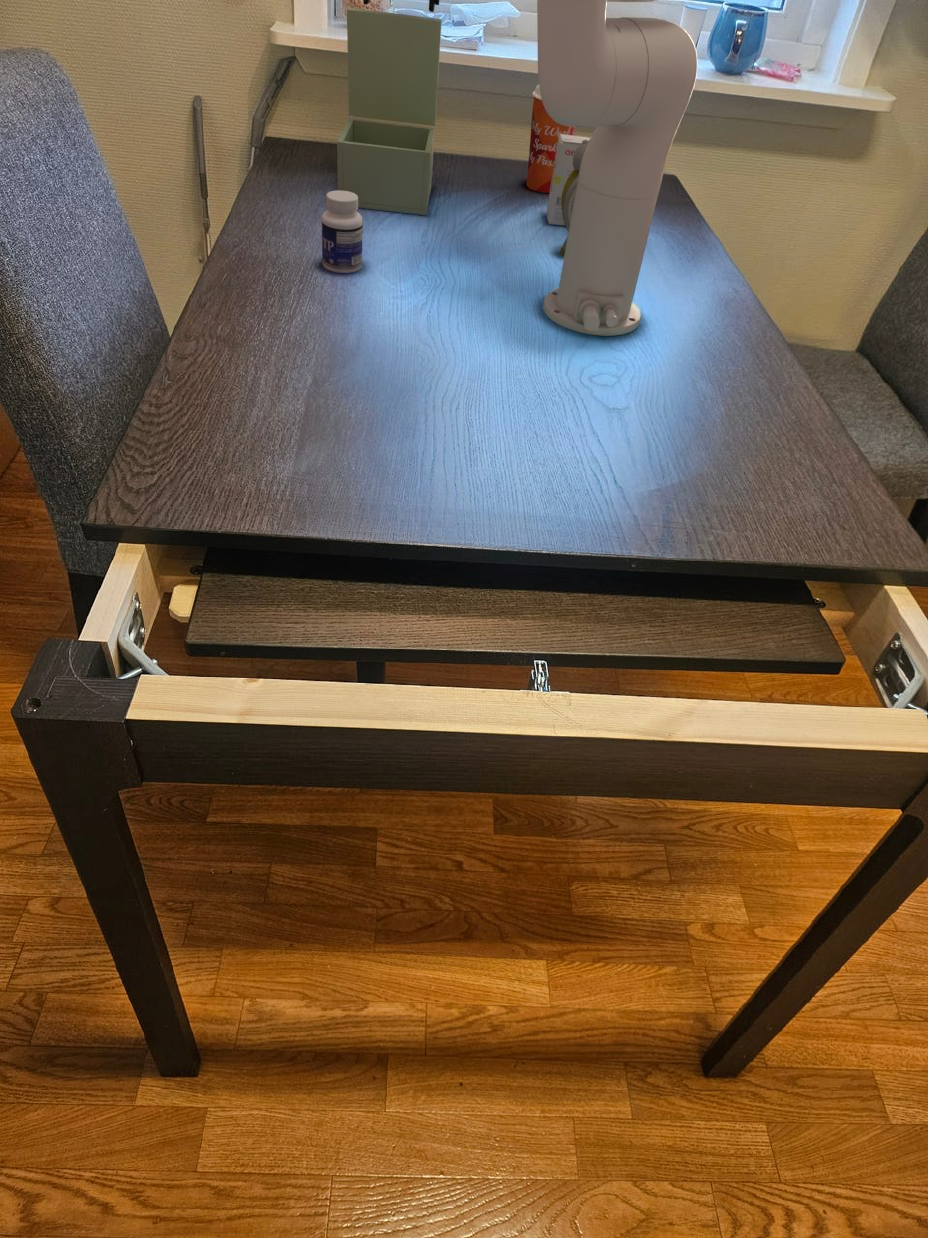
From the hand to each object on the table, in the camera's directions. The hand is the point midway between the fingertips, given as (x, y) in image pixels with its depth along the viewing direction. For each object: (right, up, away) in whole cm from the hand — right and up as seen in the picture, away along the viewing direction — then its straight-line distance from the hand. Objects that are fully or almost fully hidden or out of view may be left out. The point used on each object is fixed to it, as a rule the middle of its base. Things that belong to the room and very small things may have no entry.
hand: (399, 6), depth 125 cm
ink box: (+27, -28, +9) cm, 40 cm away
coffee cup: (+23, -16, +21) cm, 35 cm away
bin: (-3, -23, +9) cm, 25 cm away
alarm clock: (+29, -37, 0) cm, 47 cm away
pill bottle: (-7, -44, -13) cm, 46 cm away
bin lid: (-1, -8, +2) cm, 9 cm away
